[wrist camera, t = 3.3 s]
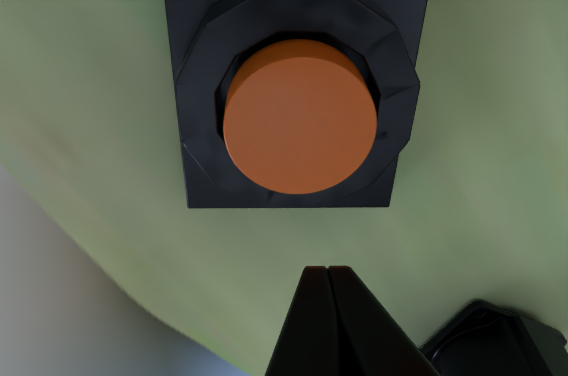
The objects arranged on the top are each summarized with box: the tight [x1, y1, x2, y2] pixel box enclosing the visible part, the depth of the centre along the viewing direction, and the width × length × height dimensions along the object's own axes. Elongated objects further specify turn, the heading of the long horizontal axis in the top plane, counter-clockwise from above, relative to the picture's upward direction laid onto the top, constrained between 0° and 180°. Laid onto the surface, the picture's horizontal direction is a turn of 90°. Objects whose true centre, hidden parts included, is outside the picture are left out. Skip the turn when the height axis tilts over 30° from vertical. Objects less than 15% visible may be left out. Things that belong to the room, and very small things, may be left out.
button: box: [223, 39, 377, 194], centre depth 14 cm, size 4×4×2 cm
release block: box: [165, 0, 428, 208], centre depth 16 cm, size 10×8×3 cm
